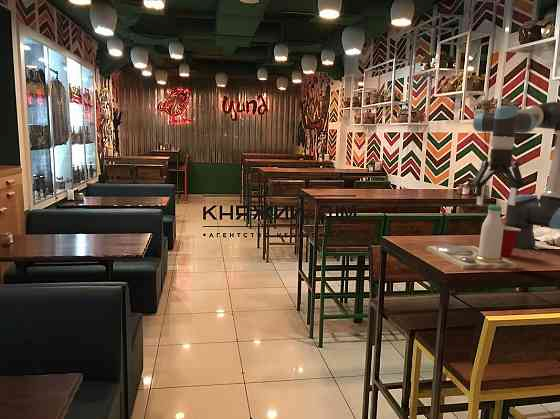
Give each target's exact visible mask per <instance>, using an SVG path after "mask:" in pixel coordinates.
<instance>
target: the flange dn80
mask: <svg viewBox="0 0 560 419" xmlns="http://www.w3.org/2000/svg"><path fill="white" fill-rule="evenodd" d="M475 259H477V260H480V261H484V262H489V263H501V262H503V259H504V258H503V257H502V256H500V258H499V259H486V258H482V257H480V256H479V254H476V255H475Z"/></svg>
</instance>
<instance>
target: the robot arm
mask: <svg viewBox="0 0 560 419" xmlns="http://www.w3.org/2000/svg"><path fill="white" fill-rule="evenodd" d="M472 122H473V123H472V126H473V128H474V130H475V131H476V132H482V133H488V132H490V133H492V137H491V147H492V148H491V149H490V153H489V154H490V155H489V158H490V160H489V161H487V160H483V161H482V162H481V166H480V168H479V169H478V171H477V173H476V175H475V177H474V178H473V180H472V183H471V185H472V186H474V187H475V188H476V189H475V190H476V191H475V196H477V197H476V205H477V206H483V205H484V195H485V187H484V186H485V185H486V184H487V182H489V180H490V179H491V178H492V177H493V176H494V175H496V174H497V175H498V174H499V175H500V174H503V175H504V176H505V177H506V178H507V180H508V181H509V183H510V185H511V186H512V187H510V188H509V190H510V191H509V197H508V199H507V204H506V210H505V211H506V214H505V220H504V226H508V227H514V228H518V229H521V231H520V232H519V234H518V236H517V238H516V242H515V245H514V248H518V249H534V248H536V239H535V233H534V227H535V226H538V227H544V228H547V229H552V230H554V229H555V230H560V101H549V102H544V103H539V104H533V105H530V106H526V107H525V108H520V109H519V108H518V107H517V106H516V105H497V106H496V107H495V111H494V112H478V113H476V114H475V115H474V117H473V121H472ZM536 128H537V129H538V128H540V129H548V130H554V131H553V133H554V134H555V135H556V140H555V144H554V150H553V155H552V158H551V159H552V160H551V164H550V169H549V172H548V173H549V174H548V178H547V183H546V187H545V191H544V192H543V193H541V194H540V196H538V195H537V194H519V189H521V188H522V187H524V186H525V183H524V180H523V177H522V173H521V170H520V168H519V167H520V163H519V162H518V161H512V159H513V156H514V155H513V154H514V150H513V148H514V147H515V146H514V145H515V138H516V137H515V136H516V134H517V133H518V134H526V133H530V132H532V131H533V130H534V129H536ZM488 168H489V169H488ZM510 168H511V169H510ZM538 197H539V198H538Z"/></svg>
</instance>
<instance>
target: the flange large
mask: <svg viewBox="0 0 560 419" xmlns="http://www.w3.org/2000/svg"><path fill="white" fill-rule="evenodd" d="M435 246H436V250H438V251H440V252H443V253H446V254H452V255H471V254H472V252H473V251H472V250H471V249H469V248H466V247H462V246H463V245H453V244H439V245H435Z"/></svg>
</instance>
